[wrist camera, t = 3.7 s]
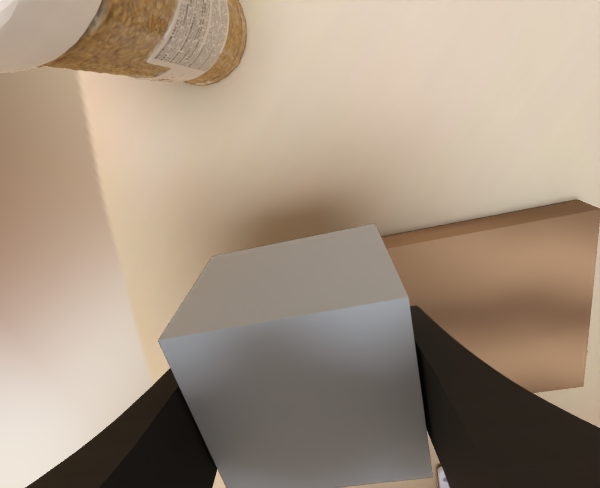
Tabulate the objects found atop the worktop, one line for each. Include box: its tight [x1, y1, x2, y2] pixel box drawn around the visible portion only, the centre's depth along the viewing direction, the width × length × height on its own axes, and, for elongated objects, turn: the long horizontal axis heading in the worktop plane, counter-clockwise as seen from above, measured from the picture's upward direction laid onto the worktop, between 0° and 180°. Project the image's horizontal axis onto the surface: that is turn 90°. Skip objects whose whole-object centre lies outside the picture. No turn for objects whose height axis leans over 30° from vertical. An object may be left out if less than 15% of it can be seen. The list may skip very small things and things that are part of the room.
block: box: [158, 224, 433, 488], centre depth 11 cm, size 6×6×4 cm
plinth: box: [381, 200, 600, 393], centre depth 20 cm, size 11×11×2 cm
